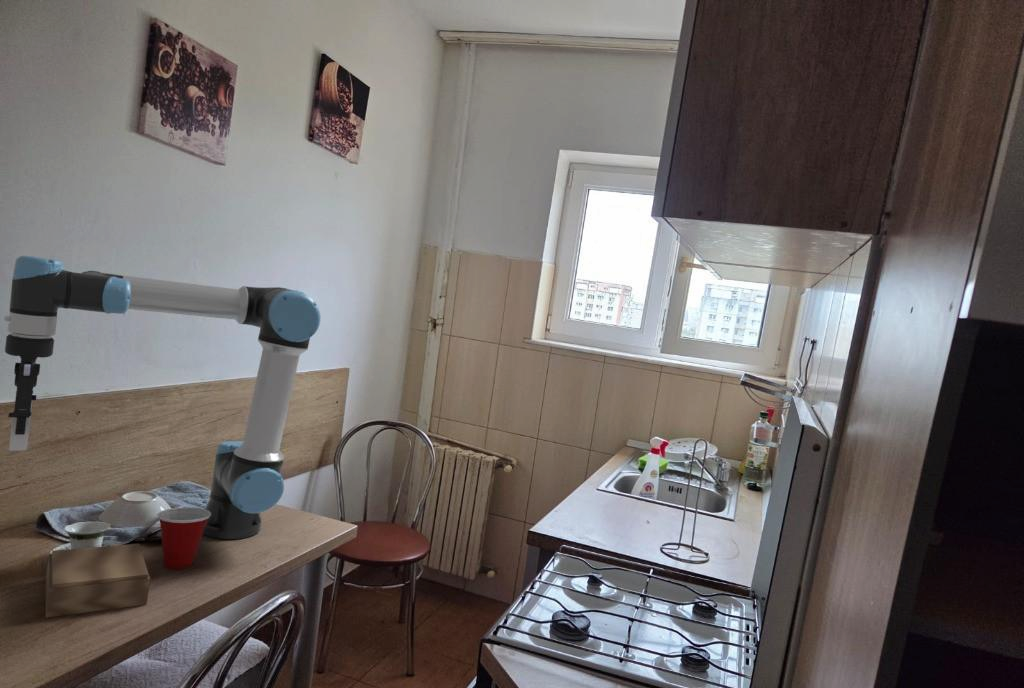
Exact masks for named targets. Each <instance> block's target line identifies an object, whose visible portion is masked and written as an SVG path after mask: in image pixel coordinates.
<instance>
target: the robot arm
mask: <svg viewBox="0 0 1024 688" xmlns="http://www.w3.org/2000/svg"><path fill="white" fill-rule="evenodd" d="M12 274H13V275H12V279H11V280H12V281H11V292H10V300H9V301H10V302H9V303H10V304H9V314H8V315H6V316H5V317H4V321H5V322H8V323H7V332H8V333H10V334H8V335H6V338H5V348H4V352H5V353H6V354H7V355H10V356H14V357H20V362H15V364H14V371H13V373H14V376H15V377H14V382H13V383H14V386H15V387H16V393H15V401H14V410H13V412H8V415H7V417H8V418H12V421H11V429H10V437H9V447H8V451H9V452H14V451H15V452H16V451H17V452H19V451H20V452H22V451H24V452H25V451H28V445H29V434H30V425H31V416H32V409H33V408H32V406H33V401H36V400H37V394H34V388H36V387H37V384H38V383H37V382H38V376H39V375H40V371H41V370H40V369H41V364H40V363H36V362H37V359H38V358H50V357H52V356H53V353H54V344H55V339H54V338H53V336H55V335H56V331H57V324H58V323H57V322H58V309H59V308H60V309H66V310H67V309H69V310H79V311H88V312H97V313H104V314H107V315H111V314H117V315H118V314H119V315H120V314H122V315H123V314H126V313H127V311H128V310H135V311H146V312H156V313H166V314H176V315H185V316H187V315H188V316H196V317H207V318H215V319H227V320H235V321H236V322H237V324H238V325H247V326H252V327H257V328H260V329H259V334H258V337H257V341H258V342H259V344H260V345H261V347H262V351H261V356H260V359H259V365H258V370H257V373H256V379H255V383H254V389H253V394H252V397H251V398H252V399H251V402H250V406H249V407H250V408H249V412H248V415H247V416H248V417H247V421H246V426H245V430H244V435H243V439H242V440H230V441H223V442H220V443H219V444H218V445H217V448H216V453H215V454H214V456H215V459H214V465H213V466H214V467H213V473H212V479H211V480H212V481H211V485H210V486H211V488H210V495H209V499H208V501H207V503H206V506H205V507H204V509H206V510H208V511H210V512H211V516H210V517H209V518H208V520H207V523H206V526H205V528H204V531H203V534H202V535H204V536H207V537H210V538H214V539H219V540H220V539H221V540H237V539H238V540H239V539H245V538H249V536H250V537H252V535H253V536H255V535H257V534H258V533H259V532H260V531H261V529H262V523H263V522H262V515H261V513H264V512H266V511H269V510H270V509H271V508H273V507H274V506H275V505H276V504H278V503H279V501H280V500H281V498H282V496H283V494H284V491H285V481H284V478H283V476H282V470H283V465H284V461H285V456H284V454H283V453H282V451H281V450H280V447H281V444H282V439H283V434H284V429H285V425H286V420H287V416H288V411H289V406H290V401H291V396H292V393H293V389H294V383H295V378H296V374H297V370H298V365H299V361H300V356H301V355H302V354H303V353H305V352H306V351H308V349H309V344H310V340H311V338H312V337H313V336H314V335H315V334H316V333H317V331H318V329H319V327H320V324H321V311H320V309H319V306H318V305H317V303H316V301H315V300H314V299H313V298H312V297H311V296H309V295H307V294H306V293H304V292H303V291H299V290H296V289H295V290H294V289H289V288H285V287H279V286H278V287H275V286H274V287H273V286H272V287H261V286H258V287H256V286H246V285H243V286H241V287H240V288H238V289H237V288H230V287H221V286H220V287H219V286H213V285H212V286H211V285H205V284H197V283H189V282H188V283H186V282H180V281H172V280H165V279H164V280H162V279H156V278H149V277H148V278H146V277H138V276H131V275H130V276H129V275H121V274H114V273H104V272H100V271H96V270H87V271H83V272H72V271H68V270H64V264H63V261H61V260H60V259H59V260H58V259H54V258H48V257H47V258H46V257H41V256H33V255H21V256H19V257H17V258H16V259H15V262H14V269H13V273H12ZM256 533H257V534H256Z"/></svg>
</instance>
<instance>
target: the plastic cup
mask: <svg viewBox="0 0 1024 688" xmlns="http://www.w3.org/2000/svg"><path fill="white" fill-rule="evenodd" d="M210 516H211V512H210V511H208V510H206V509H205V508H201V507H193V506H192V507H190V506H185V507H184V506H181V507H172V508H167V509H163V510H160V511H159V512H158V513H157V518H158V520H159V524H160V530H161V531H160V533H161V550H162V562H163V566H164V567H165V568H167V569H168V570H169V569H170V570H183V569H187V568H190V567H191V566H192V565H193V563H194V560H195V557H196V554H197V551H198V549H199V547H200V543H201V540H202V537H203V535H204V534H203V531H204V528H205V526H206V523H207V520H208V518H209V517H210Z"/></svg>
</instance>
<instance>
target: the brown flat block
mask: <svg viewBox="0 0 1024 688" xmlns="http://www.w3.org/2000/svg"><path fill="white" fill-rule="evenodd" d="M147 566H148V565H147V564H146V561H145V556H144V554H143V550H142V547H141V545H140V543H130V544H118V545H106V546H93V547H82V548H69V549H66V548H65V549H57V550H52V551H51V553H49V554H48V560H47V567H46V576H45V618H53V617H54V618H56V617H60V616H61V617H62V616H69V615H76V614H77V615H78V614H85V613H92V612H99V611H107V610H114V609H115V610H116V609H123V608H131V607H138V606H145V605H146V604H148V599H149V591H150V585H151V584H150V583H151V577H150V574H149V571H148V567H147Z"/></svg>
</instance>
